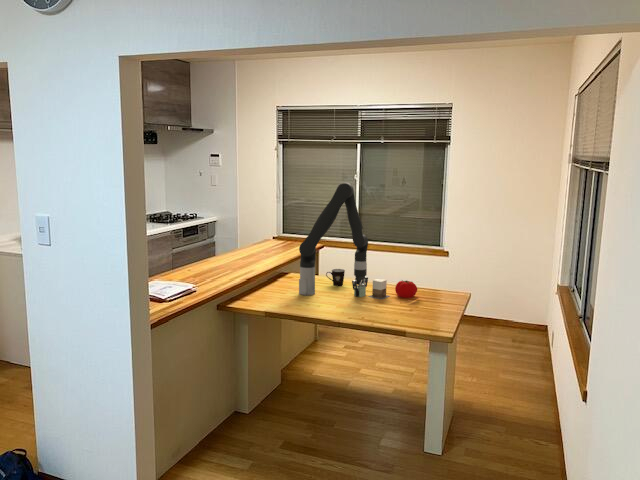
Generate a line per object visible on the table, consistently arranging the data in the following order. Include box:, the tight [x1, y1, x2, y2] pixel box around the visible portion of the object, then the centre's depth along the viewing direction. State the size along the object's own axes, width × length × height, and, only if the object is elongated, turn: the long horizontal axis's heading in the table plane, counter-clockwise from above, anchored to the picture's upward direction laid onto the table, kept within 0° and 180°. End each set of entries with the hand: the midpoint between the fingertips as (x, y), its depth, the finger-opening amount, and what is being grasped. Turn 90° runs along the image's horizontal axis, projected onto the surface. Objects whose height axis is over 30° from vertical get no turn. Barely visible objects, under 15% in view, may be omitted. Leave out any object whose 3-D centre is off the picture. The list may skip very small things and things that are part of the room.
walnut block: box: [371, 288, 387, 298], centre depth 321 cm, size 6×6×5 cm
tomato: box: [394, 279, 418, 299], centre depth 321 cm, size 13×12×11 cm
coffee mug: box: [325, 268, 346, 287], centre depth 351 cm, size 12×9×10 cm
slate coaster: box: [367, 294, 391, 300], centre depth 321 cm, size 10×10×1 cm
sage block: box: [353, 285, 367, 298], centre depth 323 cm, size 5×5×6 cm
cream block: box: [372, 278, 388, 290], centre depth 320 cm, size 6×6×5 cm
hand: (359, 295), depth 323 cm, fingers closed on sage block, 5 cm apart
